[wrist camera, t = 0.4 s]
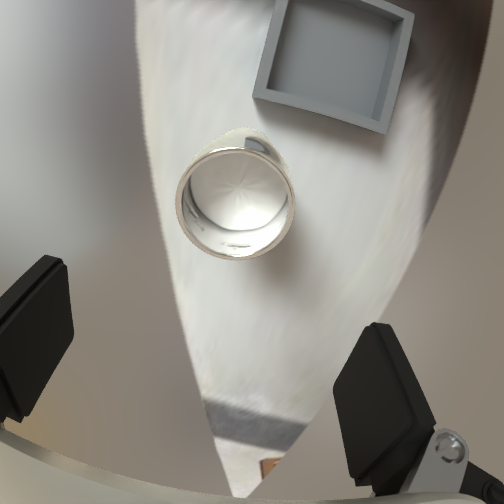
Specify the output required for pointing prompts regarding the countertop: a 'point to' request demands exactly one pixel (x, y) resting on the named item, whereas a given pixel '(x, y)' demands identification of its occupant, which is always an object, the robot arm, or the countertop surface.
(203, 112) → the countertop surface
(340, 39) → the tray
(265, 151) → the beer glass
